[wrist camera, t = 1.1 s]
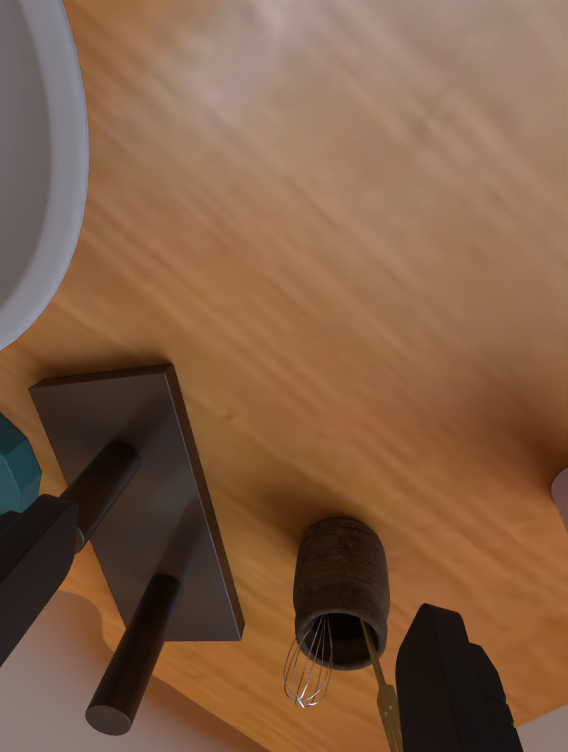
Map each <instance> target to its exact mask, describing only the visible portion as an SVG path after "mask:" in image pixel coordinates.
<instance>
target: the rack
mask: <svg viewBox="0 0 568 752" xmlns="http://www.w3.org/2000/svg"><path fill="white" fill-rule="evenodd" d="M28 390H29V392H30V394H31V397H32V399H33V402H34V404H35V407H36V409H37V412H38V414H39V417H40V419H41V421H42V424H43V426H44V429H45V431H46V434H47V436H48V439H49V441H50V443H51V446H52V448H53V451H54V453H55V456H56V458H57V461H58V463H59V465H60V468H61V470H62V473H63V475H64V478H65V480H66V483H67V485H68V488H67V489H66V490H65V491H64V492H63V493H62V494H61V495H60V496H59V497H58V498H62V499H65V500H69V501H72V502H76V503H77V504H78V507H79V511H78V523H77V534H76V546H75V554H77V553H78V552H80V551H81V550H82V549H83V547H84V546H85V544H86V543H87V542H88V540H89V539H90V541H91V544H92V546H93V549H94V551H95V554H96V556H97V558H98V561H99V563H100V566H101V568H102V571H103V573H104V576H105V578H106V580H107V583H108V585H109V588H110V590H111V593H112V595H113V598H114V600H115V603H116V605H117V607H118V610H119V612H120V615H121V617H122V620H123V622H124V625H125V627H126V631H125V633H124V635H123V637H122V639H121V641H120V643H119V645H118V647H117V649H116V651H115V653H114V655H113V657H112V659H111V661H110V663H109V665H108V667H107V669H106V671H105V674H104V676H103V677H102V679H101V681H100V684H99V686H98V688H97V690H96V692H95V694H94V696H93V698H92V700H91V702H90V704H89V706H88V708H87V710H86V713H85V717H86V720H87V722H88V723H89V724H90V725H91V726H92V727H93V728H94V729H96V730H97V731H99V732H101V733H104V734H108V735H114V736H115V735H116V736H117V735H123V734H125V733H127V732H128V731H129V730H130V727H131V725H132V723H133V720H134V718H135V715H136V712H137V710H138V708H139V705H140V702H141V700H142V697H143V695H144V692H145V690H146V687H147V684H148V682H149V679H150V677H151V675H152V672H153V670H154V667H155V664H156V662H157V659H158V657H159V654H160V652H161V649H162V647H163V644H164V642H165V641H241V639H242V635H243V630H244V626H245V622H244V619H243V615H242V611H241V608H240V604H239V600H238V597H237V593H236V590H235V586H234V582H233V579H232V575H231V571H230V568H229V564H228V561H227V557H226V553H225V550H224V546H223V542H222V539H221V535H220V532H219V528H218V524H217V521H216V517H215V513H214V510H213V506H212V503H211V499H210V495H209V492H208V488H207V484H206V481H205V477H204V474H203V470H202V466H201V463H200V459H199V455H198V452H197V448H196V445H195V441H194V437H193V434H192V430H191V426H190V423H189V419H188V416H187V412H186V408H185V405H184V401H183V397H182V394H181V390H180V387H179V383H178V379H177V376H176V372H175V368H174V365H173V363H171V364H163V365H154V366H146V367H138V368H130V369H121V370H113V371H105V372H97V373H88V374H80V375H72V376H64V377H55V378H47V379H42V380H40V381H39V382H37V383H36V384H34V385H33V386H31V387H30V388H28Z"/></svg>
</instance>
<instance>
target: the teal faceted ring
mask: <svg viewBox="0 0 568 752" xmlns="http://www.w3.org/2000/svg"><path fill="white" fill-rule="evenodd" d="M41 474H42V471H41V469H40V467H39V464H38V462H37V460H36V457H35V455H34V453H33V450H32V448H31V446H30V443H29V441H28V439H27V438H26V437H25V436H24V435H23V434H22V433H21V432H20V431H19V430H18V429H16V428H15V427H14V426H13V425H12V424H11V423H10V422H9V421H8V420H7V419H6V418H5V417H4V416H3V415H1V414H0V515H2V514H4V513H6V512H8V511H10V510H12V511H16V512H19V513H22V512H23V511H24V510H25V509H26V508H27V507H28V506H30V505H31V504H32V503H33V502H34V501H35V500H36V499H37V497H38V491H39V485H40V479H41Z"/></svg>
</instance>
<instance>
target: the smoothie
mask: <svg viewBox="0 0 568 752" xmlns="http://www.w3.org/2000/svg"><path fill="white" fill-rule="evenodd" d="M551 494H552V497H553V500H554V502H555V505H556V507H557V509H558V512H559V514H560V516H561V518H562V521H563V523H564V525H565V528H566V530H567V532H568V467H567V468H565V469H564V470H562V471H561V472H560V473H559V474H558V475H557V476H556V478H555V479H554V481H553V483H552V487H551Z"/></svg>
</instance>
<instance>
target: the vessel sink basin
mask: <svg viewBox="0 0 568 752" xmlns="http://www.w3.org/2000/svg"><path fill="white" fill-rule="evenodd" d="M88 174H89V130H88V117H87V109H86V100H85V91H84V85H83V80H82V75H81V69H80V64H79V59H78V54H77V50H76V46H75V42H74V39H73V35H72V31H71V28H70V24H69V20H68V17H67V13H66V10H65V7H64V4H63V1H62V0H0V351H1V350H2V349H4V348H5V347H6V346H8V345H9V344H11V343H12V342H14V341H15V340H16V339H17V338H18V337H19V336H20V335H21V334H22V333H24V332H25V331H26V330H27V329H28V328H29V327H30V326H31V325H32V324H33V322H34V321H35V320H36V319H37V318H38V317H39V315H40V314H41V313H42V312H43V311H44V310H45V308H46V307H47V305H48V304H49V302H50V301H51V299H52V298H53V296H54V294H55V293H56V291H57V290H58V288H59V286H60V284H61V282H62V280H63V278H64V276H65V274H66V272H67V270H68V267H69V265H70V262H71V259H72V256H73V254H74V251H75V248H76V246H77V242H78V238H79V234H80V230H81V226H82V222H83V218H84V211H85V204H86V197H87V191H88Z"/></svg>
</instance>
